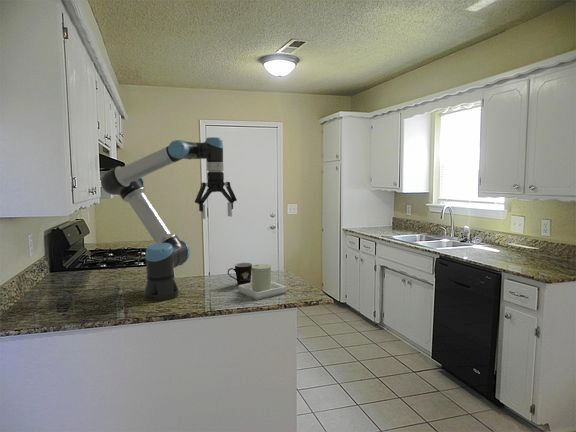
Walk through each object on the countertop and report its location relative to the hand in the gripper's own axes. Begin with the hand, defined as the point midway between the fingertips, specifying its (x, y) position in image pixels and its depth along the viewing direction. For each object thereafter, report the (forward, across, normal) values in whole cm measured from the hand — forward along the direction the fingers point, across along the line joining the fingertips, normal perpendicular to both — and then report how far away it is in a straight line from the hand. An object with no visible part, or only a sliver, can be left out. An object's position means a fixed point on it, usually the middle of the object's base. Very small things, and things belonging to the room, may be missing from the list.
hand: (216, 217), depth 190 cm
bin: (+35, +14, -16) cm, 41 cm away
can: (+34, +14, -16) cm, 40 cm away
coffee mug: (+35, +13, +2) cm, 37 cm away
